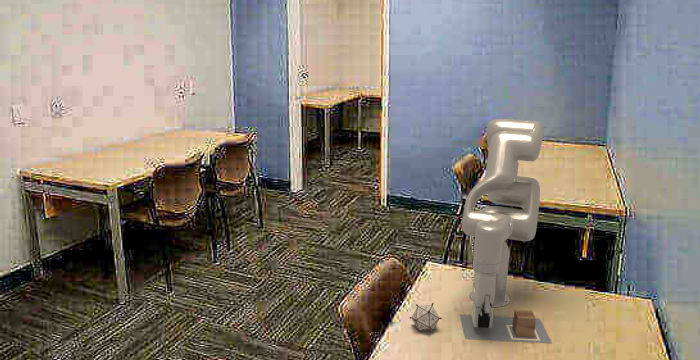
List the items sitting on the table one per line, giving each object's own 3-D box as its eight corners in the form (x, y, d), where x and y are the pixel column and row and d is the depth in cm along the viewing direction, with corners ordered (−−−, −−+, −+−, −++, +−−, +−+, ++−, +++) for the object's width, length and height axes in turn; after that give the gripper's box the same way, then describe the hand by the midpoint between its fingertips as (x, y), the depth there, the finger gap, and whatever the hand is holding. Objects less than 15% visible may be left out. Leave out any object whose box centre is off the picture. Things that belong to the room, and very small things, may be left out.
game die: (428, 344, 167) (436, 331, 159) (402, 330, 169) (409, 315, 161) (440, 320, 172) (449, 305, 164) (415, 306, 174) (422, 291, 166)
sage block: (471, 317, 169) (473, 299, 167) (489, 318, 169) (490, 300, 167) (474, 326, 165) (475, 308, 163) (491, 327, 164) (493, 309, 162)
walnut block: (512, 327, 168) (514, 309, 167) (529, 328, 168) (531, 310, 166) (515, 336, 163) (517, 317, 162) (533, 337, 163) (535, 318, 161)
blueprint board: (459, 316, 176) (459, 314, 175) (539, 320, 174) (539, 318, 174) (465, 341, 162) (465, 338, 162) (552, 346, 161) (552, 343, 160)
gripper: (469, 251, 169) (465, 306, 175) (477, 278, 153) (472, 337, 159) (495, 252, 169) (490, 307, 175) (505, 279, 153) (500, 339, 158)
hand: (481, 321), depth 167 cm, fingers closed on sage block, 5 cm apart
